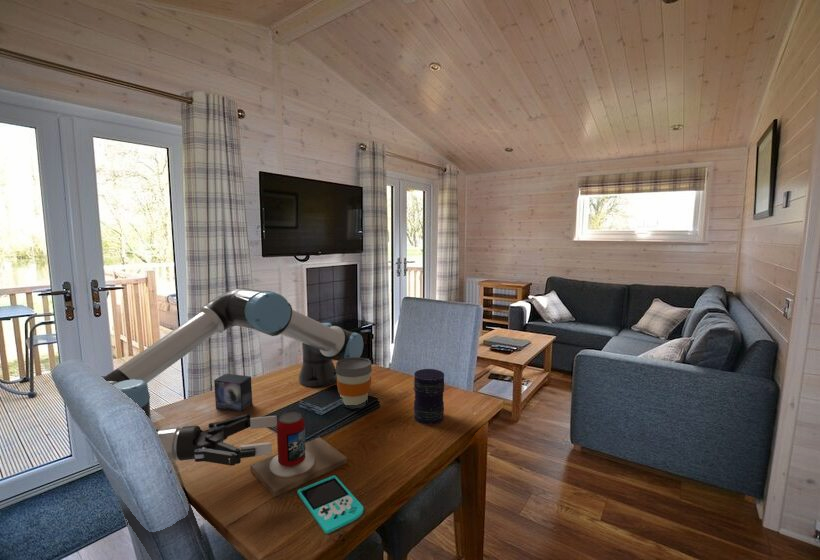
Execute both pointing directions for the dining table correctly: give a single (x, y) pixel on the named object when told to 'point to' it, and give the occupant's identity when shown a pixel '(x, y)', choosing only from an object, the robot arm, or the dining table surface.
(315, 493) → the handheld game console
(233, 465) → the robot arm
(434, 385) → the dark blue cylinder
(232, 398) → the small box
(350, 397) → the reusable coffee cup
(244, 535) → the dining table surface
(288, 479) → the drinks board
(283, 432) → the beverage can
